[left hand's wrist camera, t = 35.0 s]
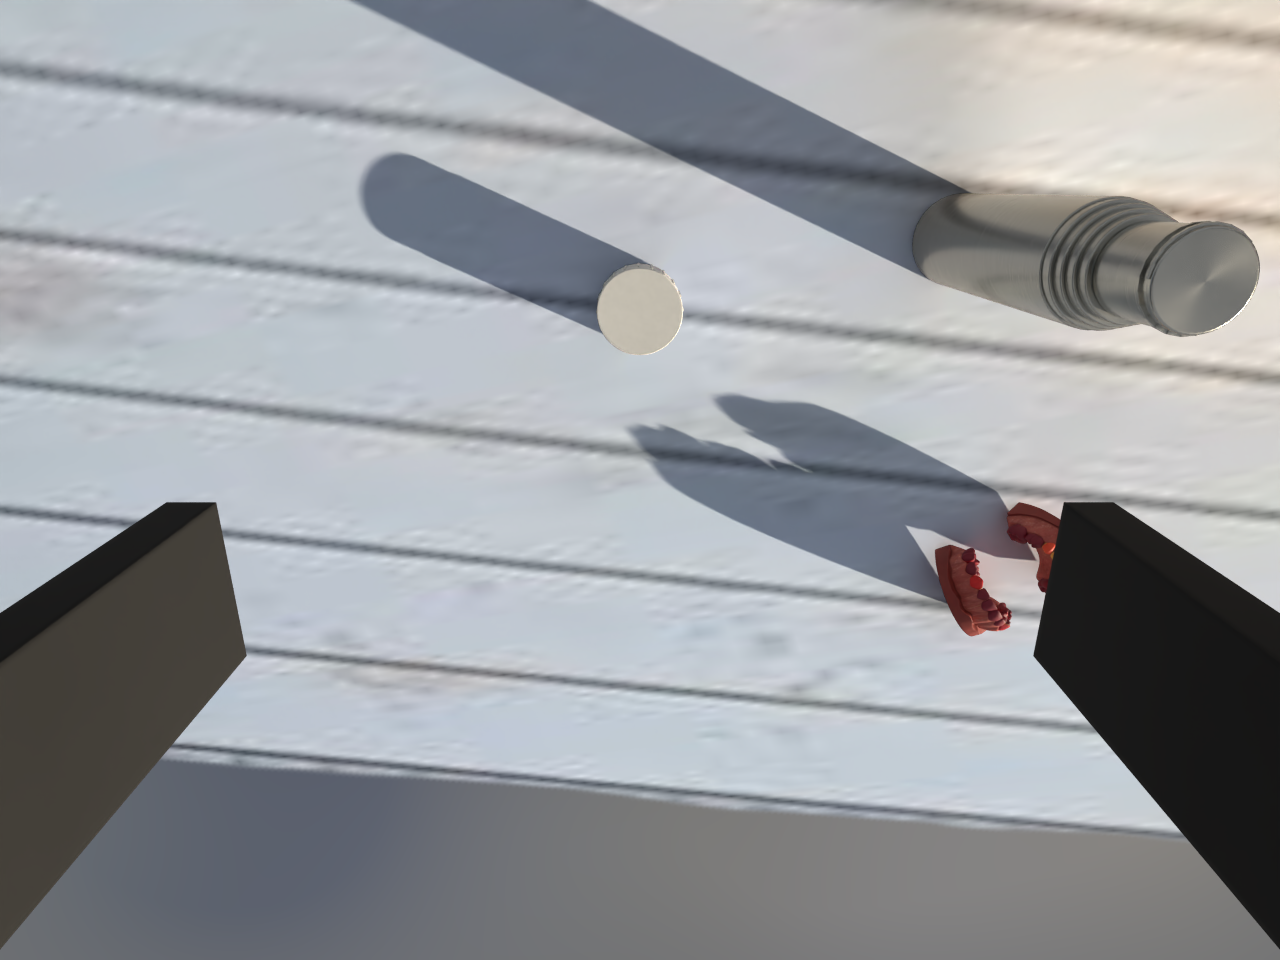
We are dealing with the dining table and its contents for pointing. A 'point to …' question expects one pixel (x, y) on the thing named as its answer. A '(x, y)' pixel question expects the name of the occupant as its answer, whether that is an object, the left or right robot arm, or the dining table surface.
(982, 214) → the bottle
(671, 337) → the cap
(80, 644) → the left robot arm
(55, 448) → the dining table surface
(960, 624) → the dental model
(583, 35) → the dining table surface
